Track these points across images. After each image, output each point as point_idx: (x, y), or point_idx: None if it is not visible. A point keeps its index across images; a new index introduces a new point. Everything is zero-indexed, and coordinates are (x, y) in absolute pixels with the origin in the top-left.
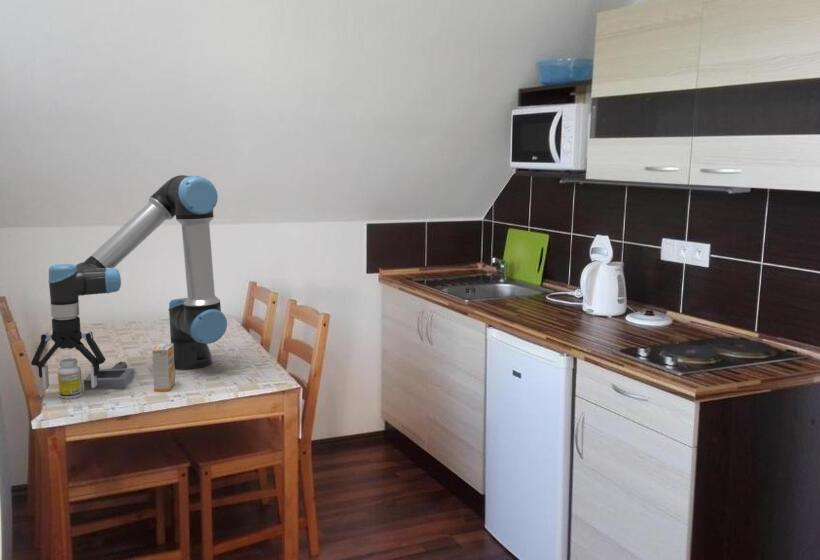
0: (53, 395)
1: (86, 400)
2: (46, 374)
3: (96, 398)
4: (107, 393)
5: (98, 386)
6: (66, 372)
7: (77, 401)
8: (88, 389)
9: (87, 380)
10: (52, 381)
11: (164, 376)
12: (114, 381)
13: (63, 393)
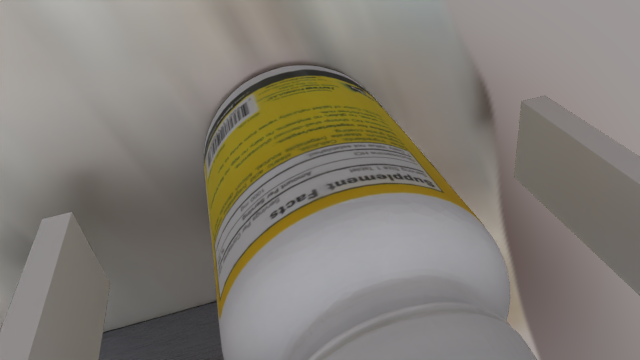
0: (445, 143)
1: (68, 53)
2: (613, 213)
3: (7, 124)
4: (14, 258)
5: (166, 333)
6: (354, 224)
7: (145, 11)
8: None
9: None
10: None
11: None
12: None
13: (332, 80)
